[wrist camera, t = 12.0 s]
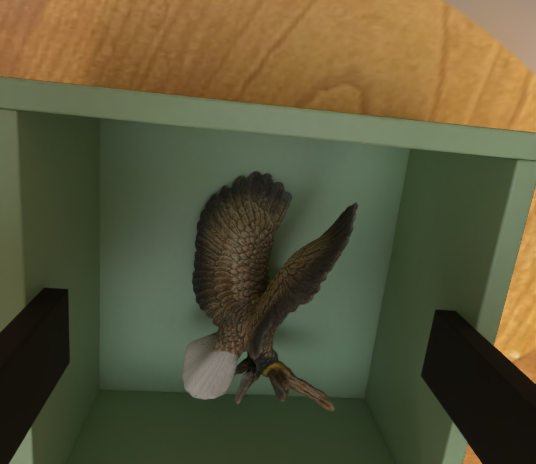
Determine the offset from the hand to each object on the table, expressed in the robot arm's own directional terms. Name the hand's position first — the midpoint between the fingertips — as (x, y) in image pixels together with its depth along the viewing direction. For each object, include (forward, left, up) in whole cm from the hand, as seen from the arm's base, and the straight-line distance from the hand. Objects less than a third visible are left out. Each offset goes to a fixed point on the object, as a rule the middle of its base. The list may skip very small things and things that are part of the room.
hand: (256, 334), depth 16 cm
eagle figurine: (0, +1, -7) cm, 7 cm away
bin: (0, 0, -7) cm, 7 cm away
